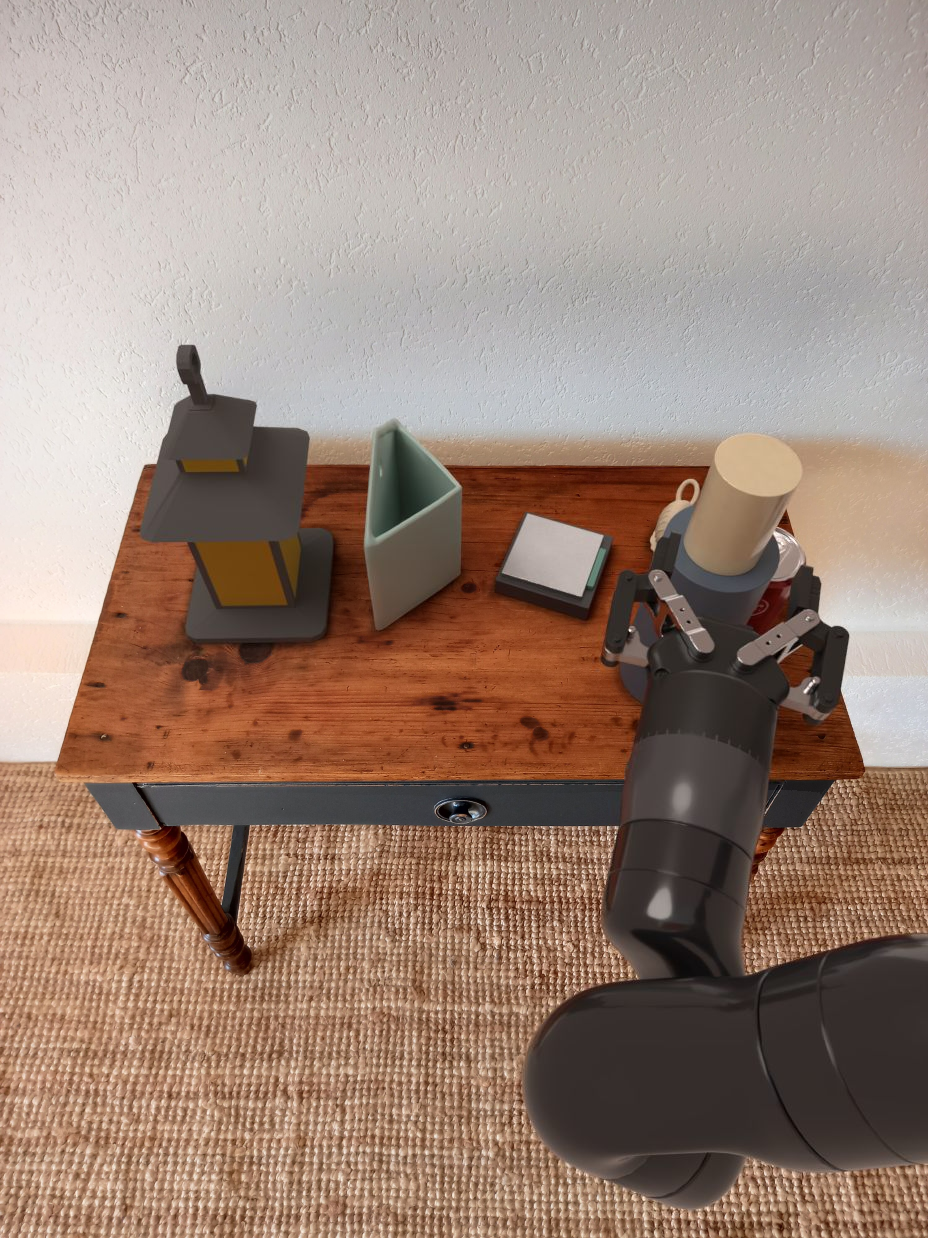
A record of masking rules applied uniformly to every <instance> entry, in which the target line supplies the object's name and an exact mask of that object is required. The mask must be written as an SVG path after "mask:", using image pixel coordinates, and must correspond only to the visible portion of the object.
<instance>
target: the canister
mask: <svg viewBox="0 0 928 1238" xmlns="http://www.w3.org/2000/svg"><path fill="white" fill-rule="evenodd" d="M803 469H804V468H803V464H802V462H801V459H800V457H799V456H798V455H797V454H796V452H795V451H794V450H793V449H792V448H791V447H790V446H789V445H787V444H785V443H784V442H783V441H781V440H779V439H777V438H774V437H772V436H769V435H766V434H759V433H750V432H749V433H739V434H735V435H732V436H730V437H728V438H726V439H725V440H723V441H722V442H721V443H720V444H719V445H718V447H717V449H716V450H715V452H714V455H713V458H712V460H711V463H710V465H709V468H708V471H707V473H706V476H705V478H704V482H703V484H702V486H701V489H700V493H699V497H698V500H697V502H696V505H695V507H694V510H693V513H692V515H691V518H690V521H689V523H688V526H687V528H686V531H685V534H684V546H685V550H686V552H687V554H688V555H689V557H690V558H691V559H692V561H694V562H695V563H696V564H697V565H698V566H699V567H701V568H703V569H704V570H706V571H708V572H711V573H714V574H717V575H723V576H736V575H740V574H744V573H746V572H748V571H750V570H751V569H753V568H754V567H755V566H756V565H757V563H758V562H759V560H760V558H761V556H762V554H763V552H764V550H765V548H766V546H767V545H768V543H769V541H770V539H771V537H772V535H773V533H774V531H775V529H776V527H778V525H779V523H780V521H781V520H782V519H783V516H784V514H785V512H786V510H787V509H788V507H789V504H790V503H791V501H792V499H793V497H794V496H795V493H796V491H797V490H798V488H799V485H800V483H802V480H803V475H804V470H803Z"/></svg>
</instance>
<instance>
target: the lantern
mask: <svg viewBox="0 0 928 1238" xmlns="http://www.w3.org/2000/svg"><path fill="white" fill-rule="evenodd" d="M175 363H176V371H177V373H178V377H179V379H180V382H181V384H182V385H183V386H185V385H186V387H187V390H188V392H189V395H188V396H186V397H184V398H182V399H181V400H178V401H177V402H176V403H175V404H174V406H173V409H172V413H171V417H170V421H169V426H168V429H167V432H166V434H165V435H164V437H163V438H162V440H161V444H160V449H159V452H158V455H157V460H156V465H155V469H154V472H153V476H152V480H151V485H150V488H149V492H148V496H147V500H146V504H145V508H144V510H143V511H144V512H143V516H142V520H141V524H140V528H139V535H140V539H142V540H143V541H147V542H149V543H151V544H153V543H156V544H157V543H187V546H188V548H189V550H190V552H191V554H192V557H193V560H194V562H195V565H196V569H195V573H194V579H193V585H192V590H191V595H190V600H189V605H188V610H187V616H186V621H185V626H184V629H185V633H186V636H187V638H188V640H189V641H192V642H193V643H196V644H198V645H205V644H206V645H207V644H208V645H209V644H210V645H211V644H266V643H267V644H269V643H271V644H272V643H273V644H274V643H277V644H278V643H314V642H317V641H319V640H321V639H323V638H324V637H325V635H326V633H327V632H328V619H329V607H330V593H331V583H332V582H331V581H332V572H333V571H332V570H333V560H334V559H333V558H334V547H335V546H334V545H335V542H334V537H333V535H332V533H331V530H327V529H326V528H323V527H301V519H302V513H303V504H304V503H303V502H304V494H305V484H306V476H307V474H306V473H307V466H308V457H309V450H310V449H309V448H310V439H311V437H310V434H309V432H308V431H307V430H305V429H301V428H299V427H283V426H281V427H280V426H255V420H256V419H255V418H256V413H257V407H258V404H257V402H256V401H254V400H251V399H245V398H240V397H235V396H228V395H222V394H216V393H208V392H207V389H206V385H205V383H204V380H203V376H202V373H201V371H202V364H201V359H200V355H199V352H198V349H197V346H196V345H195V344H179V345H178V347H177V351H176V356H175Z"/></svg>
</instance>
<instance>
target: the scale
mask: <svg viewBox="0 0 928 1238" xmlns="http://www.w3.org/2000/svg"><path fill="white" fill-rule="evenodd" d="M613 542H614V536H612V535H609V534H605V533H602V532H598V531H595V530H591V529H588V528H584V527H581V526H578V525H575V524H574V525H573V524H570V523H567V522H564V521H560V520H557V519H554V518H550V517H546V516H543V515H539V514H536V513H532V512H529V511H526V510H525V511H524V514H523V516H522V518H521V520H520V523H519V525H518V527H517V529H516V532H515V533H514V536H513V538H512V541H511V543H510V546H509V548H508V550H507V552H506V555H505V557H504V559H503V562H502V564H501V566H500V568H499V571H498V573H497V575H496V577H495V580H494V593H495V594H499V595H502V596H505V597H508V598H509V597H510V598H512V599H515V600H518V601H521V602H525V603H528V604H532V605H535V606H538V607H541V608H544V609H548V610H551V611H554V612H556V613H557V612H558V613H560V614H564V615H567V616H570V617H574V618H576V619H580V620H583V621H586V620H587V619H588V615H589V612H590V610H591V606H592V604H593V601H594V598H595V595H596V592H597V589H598V586H599V584H600V581H601V578H602V575H603V572H604V569H605V567H606V564H607V561H608V557H609V555H610V553H611V549H612V545H613Z"/></svg>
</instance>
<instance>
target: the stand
mask: <svg viewBox="0 0 928 1238" xmlns="http://www.w3.org/2000/svg"><path fill="white" fill-rule="evenodd" d="M695 505H696V504H695ZM695 505H691V506H689V507H686V508H684V509H683V510H681V511H679V512H678V513H677V514H675V515H674V516H673V517H672V519H671V520H670V521H669V523H668V524H667V527H666V529H665V532H664V535H663V537H667V538H669V537H670V534H671V531H675V532H679V533H682V536H681V540H680V544H679V549H678V553H677V557H676V561H675V566H674V570H673V574H672V576H671V579H670V581H671V583H672V585H673V587H674V588H675V590H676V592H677V593H678V594H679V595H683V596H684V597H685V599H686V601H687V602H688V604H689V606H690V607H691V609H692V611H693V612H694V614H695V616H696V617H702V615H703V614H706V615H710V616H714V617H717V618H719V619H721V620H723V621H725V622H727V623H735V624H744V625H746V624H747V622H748V620H749V619H750V617H751V615H752V613H753V611H754V610H755V608H756V606H757V604H758V603H759V601H760V599H761V597H762V596H763V594H764V592H765V590H766V589H767V587H768V585H769V583H770V581H771V580H772V578H773V576H774V574H775V573H776V571H777V569H778V566H779V561H780V550H779V546H778V543H777V540H776V538H775V536H774V535H772V537H771V539H770V541H769V543H768V545H767V546H766V548H765V550H764V552H763V554H762V556H761V558H760V560H759V562H758V563H757V565H756V566H755V567H754V568H753V569H751V570H750V571H748V572H746V573H744V574H740V575H736V576H723V575H717V574H714V573H711V572H708V571H706V570H704V569H703V568H701V567H699V566H698V565H697V564H696V563H695V562H694V561H692V559H691V558H690V557H689V555H688V554H687V552H686V550H685V546H684V534H685V531H686V528H687V526H688V523H689V521H690V518H691V515H692V513H693V510H694V507H695ZM631 626H634V627H635V628H636V630H637V631H638V632H639V635H640V641H641V643H642V644H643V645H644V646H646V647H650V646H651V644H653V643H654V642H655V641H657V640H658V639H659V638H658V636H657V634H656V632H655V630H654V625H653V620H652V618H651V616H650V614H649V613H648V611H647V609H646V607H645V605H644V604H643V602H639V603H638V607H637V610H636V613H635V617H634V619H633V621H632V624H631ZM619 673H620V678H621V680H622V683H623V685H624V686H625V688H626V690H627V691H628V693H629V694H630V695H631V696H632V697H633V698H634V699H635V700H637V702H639V703H641V704H642V705H643V700H644V696H645V692H646V688H647V682H648V681H647V675H646V672H645V669H644V667H641V666H637V665H633V664H628V663H624V662H619Z"/></svg>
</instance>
